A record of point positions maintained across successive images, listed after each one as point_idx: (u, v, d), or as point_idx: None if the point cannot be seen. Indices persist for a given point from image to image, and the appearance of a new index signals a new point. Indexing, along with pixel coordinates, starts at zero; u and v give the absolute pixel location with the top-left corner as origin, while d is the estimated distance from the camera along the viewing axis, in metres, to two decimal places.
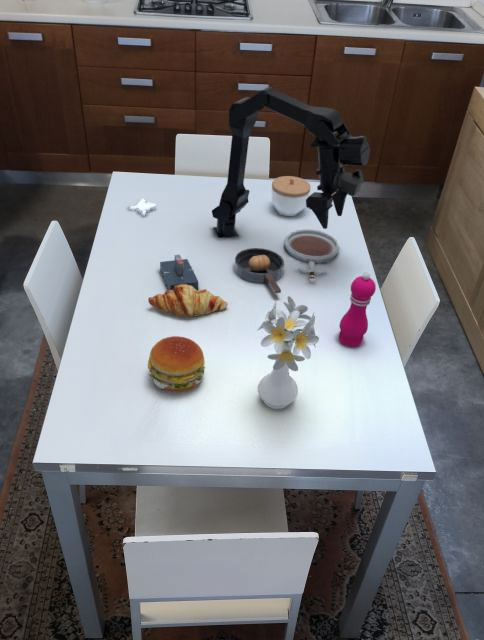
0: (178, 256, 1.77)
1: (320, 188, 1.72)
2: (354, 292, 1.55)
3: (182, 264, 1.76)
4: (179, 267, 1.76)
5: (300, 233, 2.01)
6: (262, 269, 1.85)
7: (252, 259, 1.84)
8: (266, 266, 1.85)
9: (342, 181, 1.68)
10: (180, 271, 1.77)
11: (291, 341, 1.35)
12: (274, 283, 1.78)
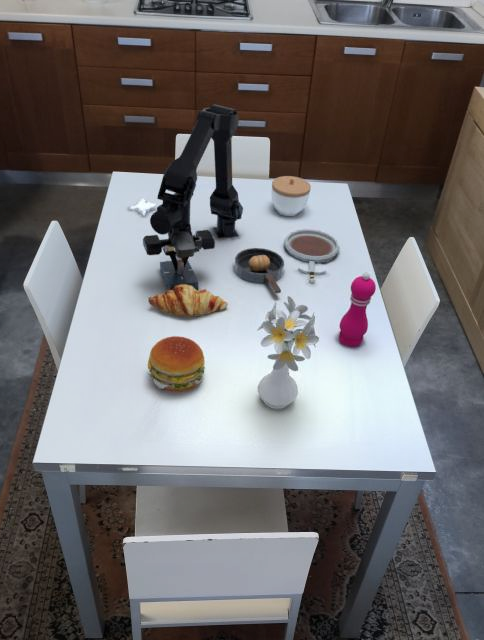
0: None
1: None
2: (354, 292, 1.55)
3: (182, 264, 1.76)
4: (179, 267, 1.76)
5: (300, 233, 2.01)
6: (262, 269, 1.85)
7: (252, 259, 1.84)
8: (266, 266, 1.85)
9: (174, 239, 1.67)
10: (180, 271, 1.77)
11: (291, 341, 1.35)
12: (274, 283, 1.78)
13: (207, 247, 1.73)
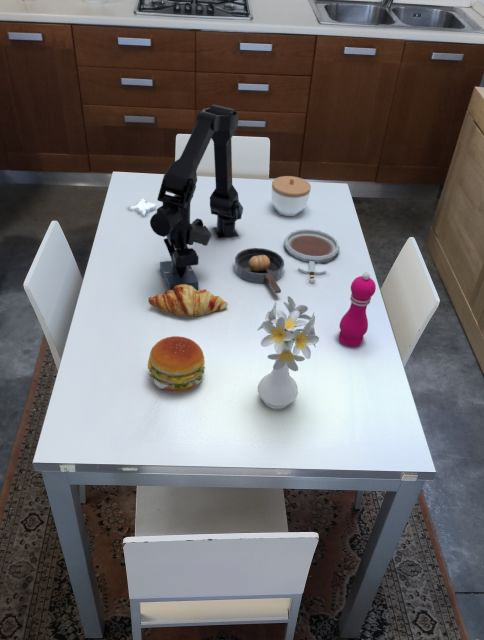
0: None
1: (174, 243, 1.70)
2: (354, 292, 1.55)
3: None
4: None
5: (300, 233, 2.01)
6: (262, 269, 1.85)
7: (252, 259, 1.84)
8: (266, 266, 1.85)
9: (198, 234, 1.70)
10: None
11: (291, 341, 1.35)
12: (274, 283, 1.78)
13: None
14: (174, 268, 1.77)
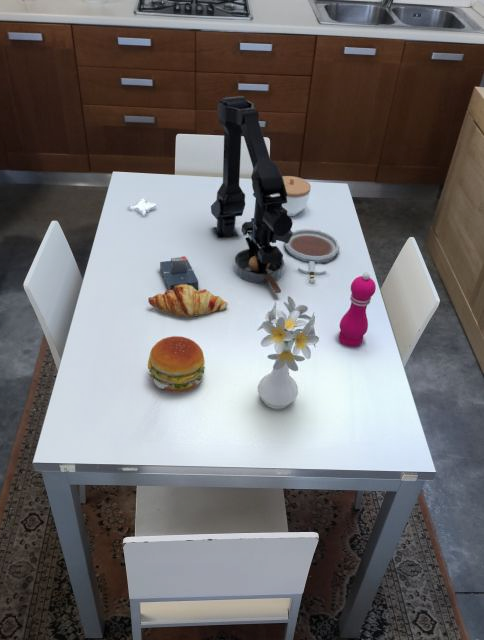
0: (174, 258, 1.76)
1: (258, 242, 1.78)
2: (354, 292, 1.55)
3: None
4: None
5: (300, 233, 2.01)
6: None
7: (252, 259, 1.84)
8: (266, 266, 1.85)
9: None
10: None
11: (291, 341, 1.35)
12: (274, 283, 1.78)
13: None
14: (174, 268, 1.77)
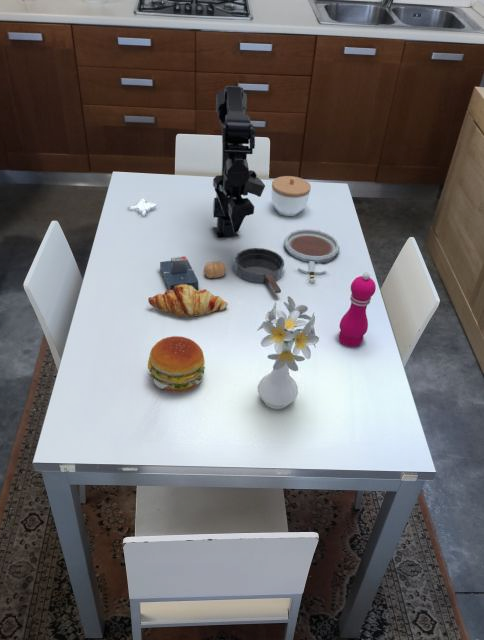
0: (174, 258, 1.76)
1: (229, 194, 1.72)
2: (354, 292, 1.55)
3: None
4: None
5: (300, 233, 2.01)
6: (217, 276, 1.82)
7: (207, 266, 1.81)
8: (221, 273, 1.82)
9: (253, 184, 1.72)
10: None
11: (291, 341, 1.35)
12: (274, 283, 1.78)
13: None
14: (174, 268, 1.77)
